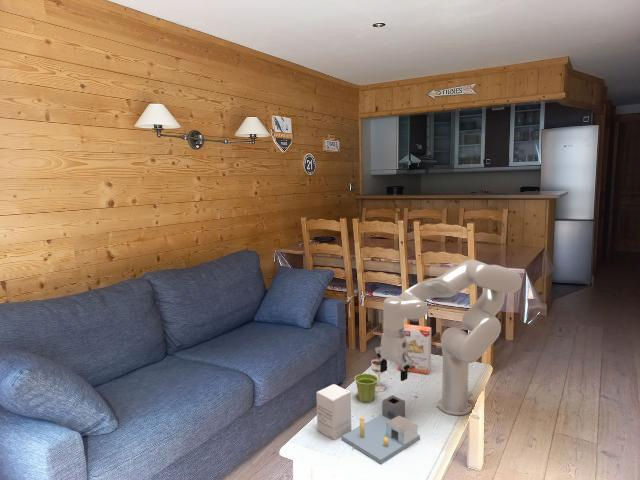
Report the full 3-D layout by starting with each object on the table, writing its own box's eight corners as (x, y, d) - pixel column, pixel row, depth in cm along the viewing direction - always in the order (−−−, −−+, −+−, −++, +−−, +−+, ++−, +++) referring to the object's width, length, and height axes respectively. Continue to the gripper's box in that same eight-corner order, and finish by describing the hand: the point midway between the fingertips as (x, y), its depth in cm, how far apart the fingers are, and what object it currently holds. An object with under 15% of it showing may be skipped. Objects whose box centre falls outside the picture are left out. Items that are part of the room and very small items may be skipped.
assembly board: (380, 418, 172) (380, 397, 171) (419, 439, 158) (420, 416, 157) (341, 440, 159) (341, 416, 158) (380, 464, 146) (380, 439, 144)
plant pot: (363, 390, 193) (363, 371, 192) (382, 397, 188) (382, 377, 186) (350, 399, 186) (349, 379, 185) (369, 406, 180) (369, 386, 179)
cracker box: (397, 370, 212) (397, 327, 208) (400, 365, 217) (401, 322, 214) (428, 375, 206) (429, 330, 203) (430, 369, 212) (431, 326, 208)
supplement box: (334, 420, 171) (333, 382, 169) (352, 430, 165) (351, 391, 162) (316, 430, 165) (315, 391, 163) (333, 440, 159) (333, 400, 156)
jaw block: (392, 409, 178) (392, 395, 177) (404, 415, 173) (405, 401, 172) (382, 415, 174) (382, 400, 173) (394, 421, 169) (394, 406, 169)
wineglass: (386, 393, 191) (386, 365, 189) (370, 391, 192) (370, 364, 190) (387, 385, 197) (387, 359, 196) (372, 384, 199) (371, 358, 197)
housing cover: (398, 427, 163) (399, 415, 163) (417, 436, 157) (417, 424, 156) (385, 434, 159) (385, 422, 158) (404, 445, 153) (404, 432, 152)
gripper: (419, 334, 164) (418, 380, 167) (382, 323, 177) (382, 365, 180) (406, 340, 159) (405, 386, 162) (369, 328, 172) (369, 371, 175)
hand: (393, 375), depth 171 cm, fingers open, 9 cm apart
